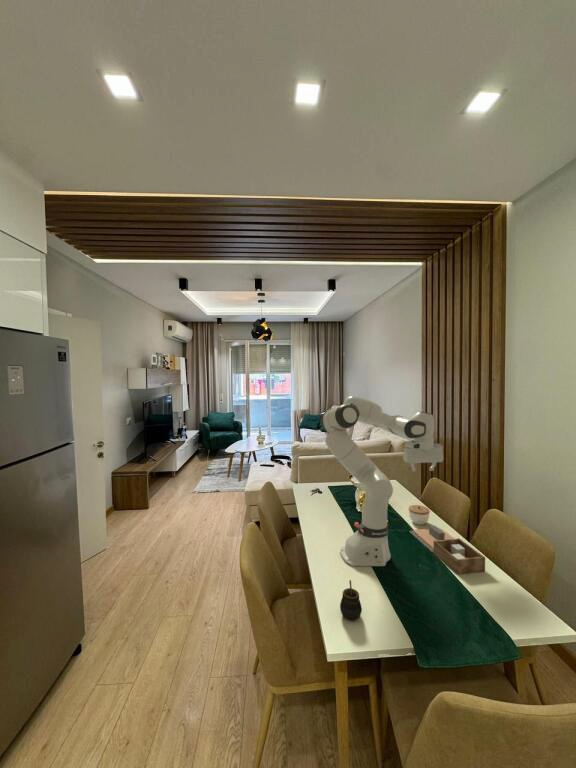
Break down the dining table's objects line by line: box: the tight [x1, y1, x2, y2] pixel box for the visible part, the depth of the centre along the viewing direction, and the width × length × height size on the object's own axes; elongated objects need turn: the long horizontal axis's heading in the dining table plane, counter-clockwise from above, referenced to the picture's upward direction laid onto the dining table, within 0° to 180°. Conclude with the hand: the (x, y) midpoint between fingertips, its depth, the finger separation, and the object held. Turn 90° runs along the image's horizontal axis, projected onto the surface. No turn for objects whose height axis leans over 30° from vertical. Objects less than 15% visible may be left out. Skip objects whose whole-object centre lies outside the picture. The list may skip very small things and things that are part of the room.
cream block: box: [452, 553, 465, 559], centre depth 140 cm, size 4×4×4 cm
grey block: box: [451, 544, 465, 557], centre depth 148 cm, size 4×4×4 cm
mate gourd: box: [339, 579, 363, 621], centre depth 112 cm, size 7×8×10 cm
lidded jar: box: [408, 504, 431, 526], centre depth 182 cm, size 11×11×9 cm
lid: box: [412, 525, 455, 550], centre depth 163 cm, size 15×18×5 cm
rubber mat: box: [409, 527, 454, 553], centre depth 163 cm, size 18×20×1 cm
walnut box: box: [432, 537, 486, 576], centre depth 144 cm, size 13×16×6 cm
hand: (423, 470), depth 166 cm, fingers open, 8 cm apart
